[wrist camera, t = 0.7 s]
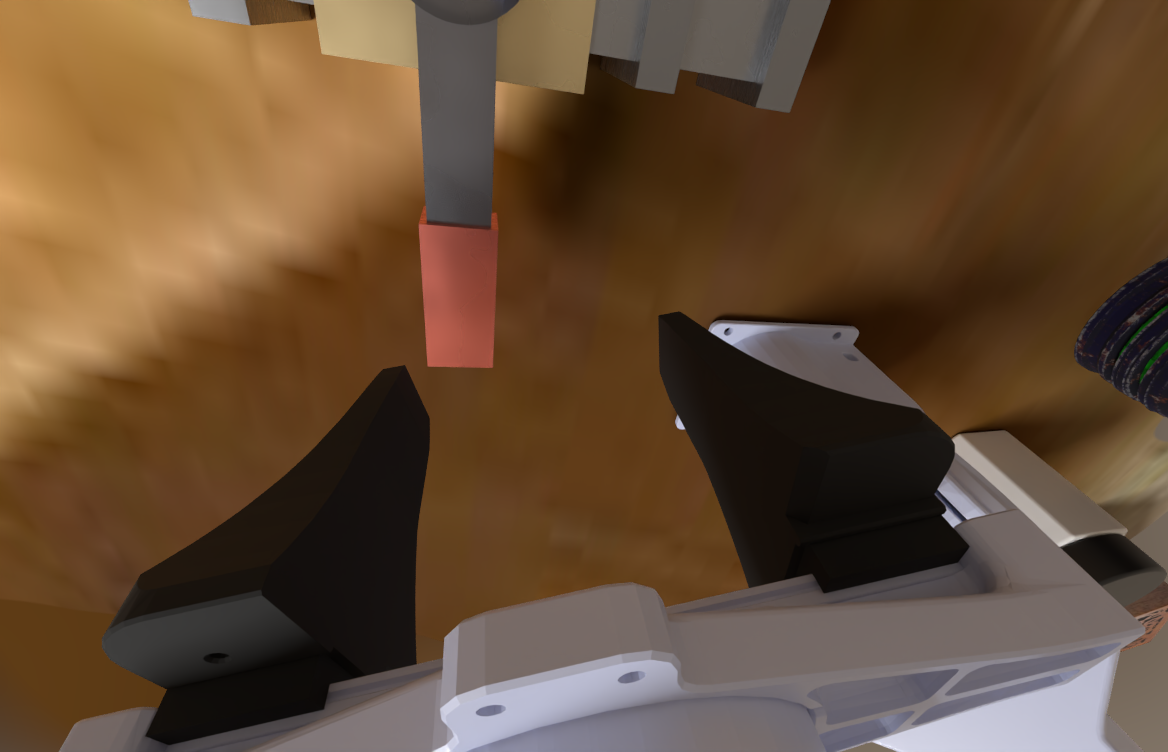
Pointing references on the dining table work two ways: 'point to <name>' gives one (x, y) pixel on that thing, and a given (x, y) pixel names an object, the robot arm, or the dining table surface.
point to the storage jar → (1132, 339)
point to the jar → (1063, 514)
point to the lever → (458, 177)
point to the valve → (586, 40)
